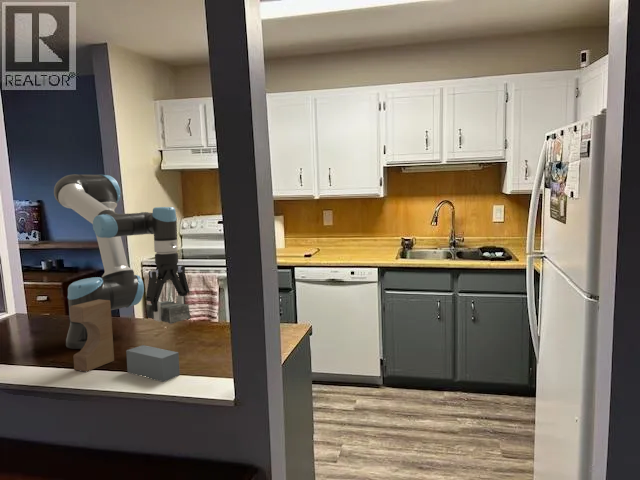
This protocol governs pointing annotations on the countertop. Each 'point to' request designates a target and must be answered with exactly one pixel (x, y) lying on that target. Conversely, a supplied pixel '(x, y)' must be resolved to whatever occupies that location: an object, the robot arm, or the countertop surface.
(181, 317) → the stone block
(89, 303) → the decorative block
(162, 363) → the block
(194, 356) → the countertop surface
